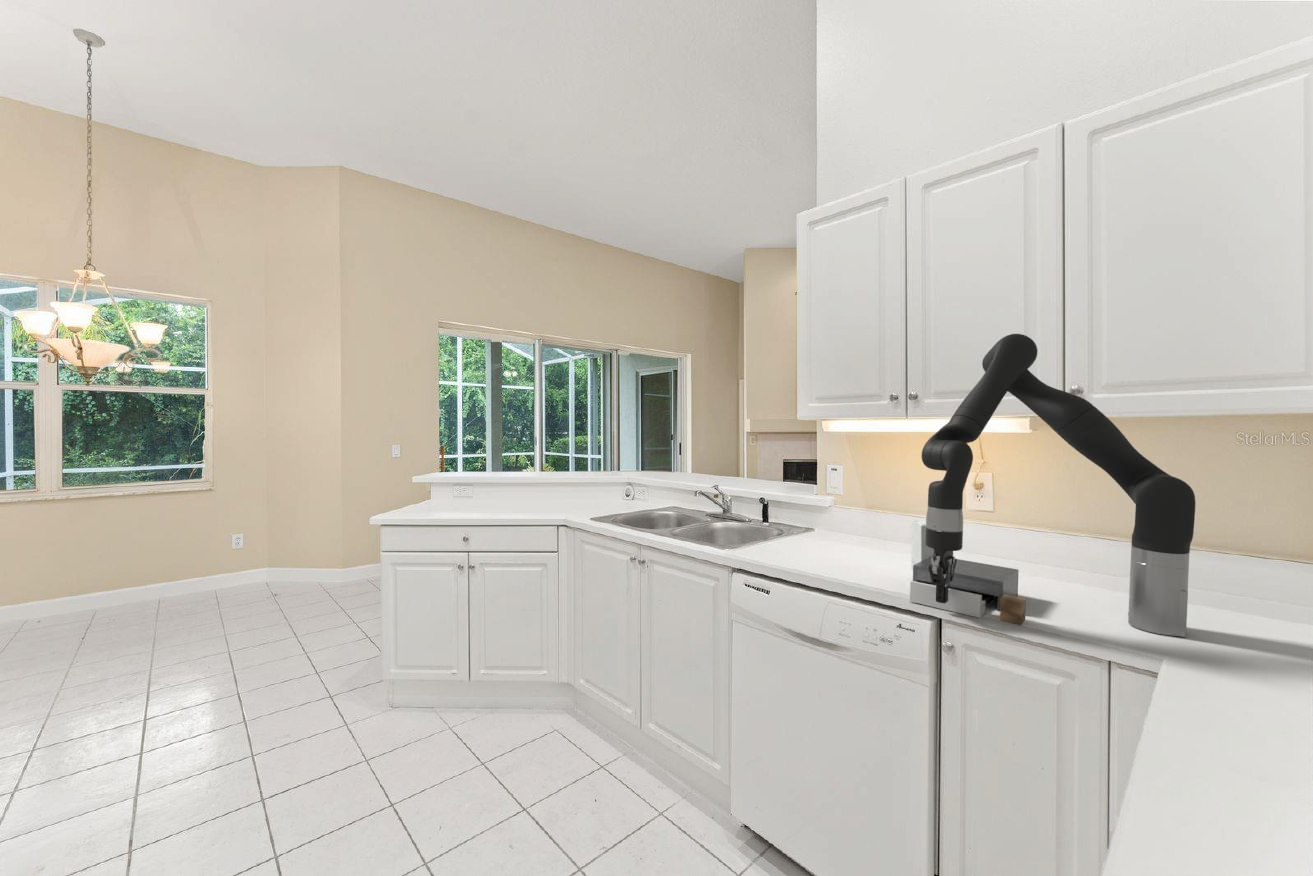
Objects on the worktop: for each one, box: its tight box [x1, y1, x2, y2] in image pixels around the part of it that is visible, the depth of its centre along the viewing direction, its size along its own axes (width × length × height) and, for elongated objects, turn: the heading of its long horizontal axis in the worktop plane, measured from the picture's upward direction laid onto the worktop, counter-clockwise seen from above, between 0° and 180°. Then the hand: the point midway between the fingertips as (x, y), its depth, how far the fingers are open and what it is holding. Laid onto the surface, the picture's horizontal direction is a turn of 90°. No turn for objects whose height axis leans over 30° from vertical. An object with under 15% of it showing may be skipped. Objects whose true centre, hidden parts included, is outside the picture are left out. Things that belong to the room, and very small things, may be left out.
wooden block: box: [999, 594, 1027, 626], centre depth 121 cm, size 4×4×5 cm
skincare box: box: [910, 520, 934, 571], centre depth 159 cm, size 8×6×15 cm
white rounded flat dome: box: [948, 586, 972, 593], centre depth 135 cm, size 6×6×2 cm
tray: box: [909, 580, 996, 618], centre depth 133 cm, size 15×18×5 cm
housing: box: [912, 556, 1020, 612], centre depth 139 cm, size 20×16×7 cm
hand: (941, 602), depth 125 cm, fingers closed
